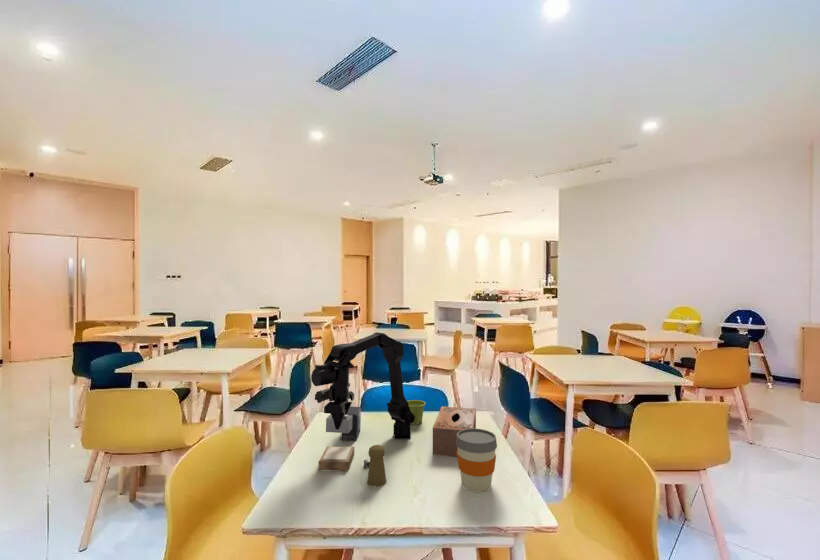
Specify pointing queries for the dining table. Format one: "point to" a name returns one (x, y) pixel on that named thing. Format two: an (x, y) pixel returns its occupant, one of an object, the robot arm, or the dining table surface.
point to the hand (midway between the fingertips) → (339, 426)
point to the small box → (353, 424)
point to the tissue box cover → (451, 428)
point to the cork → (376, 466)
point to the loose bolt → (366, 463)
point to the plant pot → (416, 410)
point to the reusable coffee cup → (476, 458)
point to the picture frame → (336, 458)
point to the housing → (344, 426)
